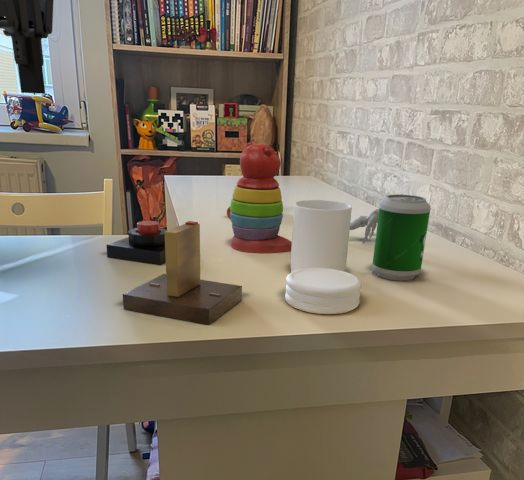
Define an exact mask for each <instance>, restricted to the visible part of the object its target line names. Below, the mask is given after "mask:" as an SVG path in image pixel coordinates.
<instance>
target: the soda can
mask: <svg viewBox="0 0 524 480" xmlns="http://www.w3.org/2000/svg"><path fill="white" fill-rule="evenodd" d="M431 208H432V207H431V205H430V204H429V203H428V202H427V199H426V197H422V196H420V195H412V194H400V193H399V194H395V193H394V194H387V195H385V198H383V199H382V200H381V201H380V202H379V206H378V209H379V215H378V223H377V226H376V232H375V240H374V249H373V250H374V251H373V257H372V266H371V267H372V269H373V271H375V273H376V275H377V276H378V277H380V278H383V279H386V280H391V281H411V280H413V279H414V278H415V276H417V275H419V274H420V273H421V271H422V265H423V258H424V254H425V253H424V252H425V245H426V239H427V233H428V227H429V220H430V214H431Z"/></svg>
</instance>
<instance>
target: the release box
mask: <svg viewBox="0 0 524 480" xmlns="http://www.w3.org/2000/svg"><path fill="white" fill-rule="evenodd" d="M159 228H160V233H157V234H140V233H138V230H137V227H134V228H131V229H129V230H128V237H125V238H121V239H119V240H116V241H113V242H110V243H107V244H106V245H105V246H106V258H108V259H115V260H120V261H127V262H133V263H134V262H135V263H142V264H148V265H153V266H162V265H166V256H165V231H168V230H169V229H166V228H164V227H159Z"/></svg>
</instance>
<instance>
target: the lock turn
mask: <svg viewBox="0 0 524 480" xmlns="http://www.w3.org/2000/svg"><path fill="white" fill-rule="evenodd" d="M200 226H201V225H200V223H199V221H193V220H192V221H191V220H187V221H186V222H184V223H183V224H181V225H179V226H176V227H172V228H170V229H167V230H168V231H165V256H166V263H165V274H166V282H167V295H169V296H175V297H179V296H181V295H182V294H184V293H186V292H187V291H189V290H191V289H193V288H194V287H196V286H198V285H199V284H200V280H201V230H200V229H201V227H200Z"/></svg>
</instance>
